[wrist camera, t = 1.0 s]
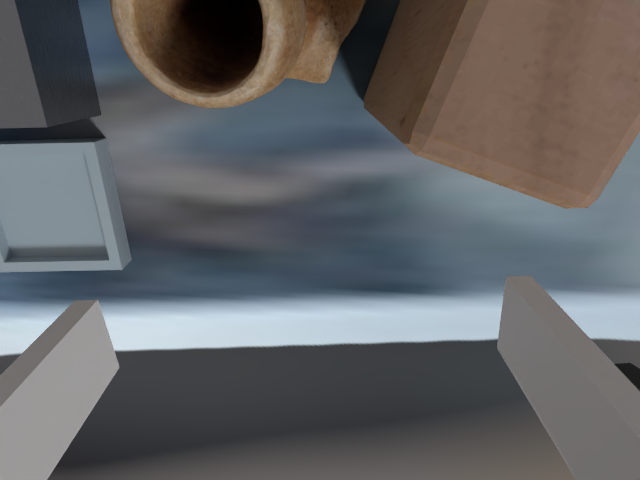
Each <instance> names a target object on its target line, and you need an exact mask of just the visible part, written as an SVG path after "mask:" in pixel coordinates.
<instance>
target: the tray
mask: <svg viewBox="0 0 640 480" xmlns="http://www.w3.org/2000/svg"><path fill="white" fill-rule="evenodd" d="M130 261H131V255H130V250H129V245H128V241H127V236H126V231H125V226H124V222H123V217H122V212H121V207H120V202H119V198H118V193H117V188H116V183H115V179H114V174H113V169H112V164H111V159H110V155H109V150H108V145H107V140H106V138H95V139H50V140H4V141H0V272H34V271H83V270H122V269H123V268H124V267H125V266H126V265H127V264H128V263H129V262H130Z"/></svg>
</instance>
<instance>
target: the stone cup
mask: <svg viewBox="0 0 640 480" xmlns="http://www.w3.org/2000/svg"><path fill="white" fill-rule="evenodd" d="M365 2H366V0H110V4H111V12H112V17H113V21H114V25H115V29H116V32H117V34H118V37H119V39H120V41H121V44H122V46H123V48H124V50H125V52H126V53H127V55H128V57H129V58H130V60H131V61H132V62H133V63H134V65H135V66H136V67H137V69H138V70H139V71H140V72H141V73H142V74H143V75H144V76H145V77H146V78H147V80H149V81H150V82H151V83H152V84H153V85H154V86H156V87H157V88H158V89H159V90H160V91H162V92H164V93H166V94H167V95H169V96H171V97H172V98H174V99H177V100H179V101H181V102H185V103H188V104H192V105H196V106H199V107H205V108H225V107H232V106H237V105H241V104H243V103H246V102H249V101H251V100H254V99H256V98H258V97H260V96H262V95H264V94H266V93H268V92H270V91H271V90H272V89H274V88H275V87H276V86H278V85H279V84H280V83H281V82H282V81H283V80H284V79H285V78H292V79H300V80H304V81H308V82H313V83H325V82H326V81H327V80H328V79H329V76H330V74H331V71H332V68H333V64H334V62H335V60H336V58H337V55H338V51H339V48H340V45H341V44H342V43H343V41H344V39H345V38H346V37H347V36H348V34H349V33H350V31H351V30H352V28H353V27H354V25H355V24H356V23H357V21H358V19H359V17H360V14H361V12H362V10H363V7H364V4H365Z"/></svg>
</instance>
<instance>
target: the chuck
mask: <svg viewBox="0 0 640 480" xmlns="http://www.w3.org/2000/svg"><path fill="white" fill-rule="evenodd" d="M99 115H101V112H100V107H99V102H98V97H97V92H96V88H95V83H94V78H93V73H92V68H91V64H90V59H89V54H88V49H87V45H86V40H85V35H84V30H83V25H82V21H81V16H80V11H79V6H78V2H77V0H0V128H41V127H51V126H56V125H60V124H64V123H69V122H73V121H77V120H82V119H86V118H91V117H95V116H99Z"/></svg>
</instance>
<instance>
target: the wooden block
mask: <svg viewBox="0 0 640 480" xmlns="http://www.w3.org/2000/svg"><path fill="white" fill-rule="evenodd" d="M364 108H365V109H366V110H367V111H368V112H369V113H370V114H372V115H373V116H374V117H375V118H376V119H377V120H378V121H379V122H380V123H381V124H382V125H383V126H385V127H386V128H387V129H388V130H389V131H390V132H391V133H392V134H393V135H394V136H395V137H396V138H398V139H399V140H400V141H401V142H402V143H403V144H404V145H405V146H406V147H407V148H408V149H409V150H411V151H412V152H413V153H414V154H415V155H418V156H420V157H423V158H426V159H429V160H432V161H434V162H437V163H440V164H443V165H445V166H448V167H451V168H454V169H457V170H459V171H462V172H465V173H468V174H471V175H473V176H476V177H479V178H482V179H484V180H487V181H490V182H493V183H496V184H498V185H501V186H504V187H507V188H510V189H512V190H515V191H518V192H521V193H524V194H526V195H529V196H532V197H535V198H537V199H540V200H543V201H546V202H549V203H551V204H554V205H557V206H560V207H563V208H588V207H589V206H590V205H591V204H592V203H593V202H594V201H596V200H597V199H598V198H599V196H600V194H601V193H602V191H603V189H604V188H605V186H606V185H607V183H608V181H609V180H610V178H611V177H612V175H613V173H614V172H615V170H616V168H617V167H618V165H619V164H620V162H621V160H622V159H623V157H624V156H625V154H626V152H627V151H628V149H629V147H630V146H631V144H632V143H633V141H634V139H635V138H636V136H637V135H638V133H639V131H640V0H400V2H399V5H398V7H397V10H396V13H395V15H394V18H393V21H392V24H391V26H390V29H389V32H388V34H387V37H386V40H385V43H384V45H383V48H382V51H381V53H380V56H379V59H378V62H377V64H376V67H375V70H374V72H373V75H372V78H371V81H370V83H369V86H368V89H367V91H366V94H365V97H364Z"/></svg>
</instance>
